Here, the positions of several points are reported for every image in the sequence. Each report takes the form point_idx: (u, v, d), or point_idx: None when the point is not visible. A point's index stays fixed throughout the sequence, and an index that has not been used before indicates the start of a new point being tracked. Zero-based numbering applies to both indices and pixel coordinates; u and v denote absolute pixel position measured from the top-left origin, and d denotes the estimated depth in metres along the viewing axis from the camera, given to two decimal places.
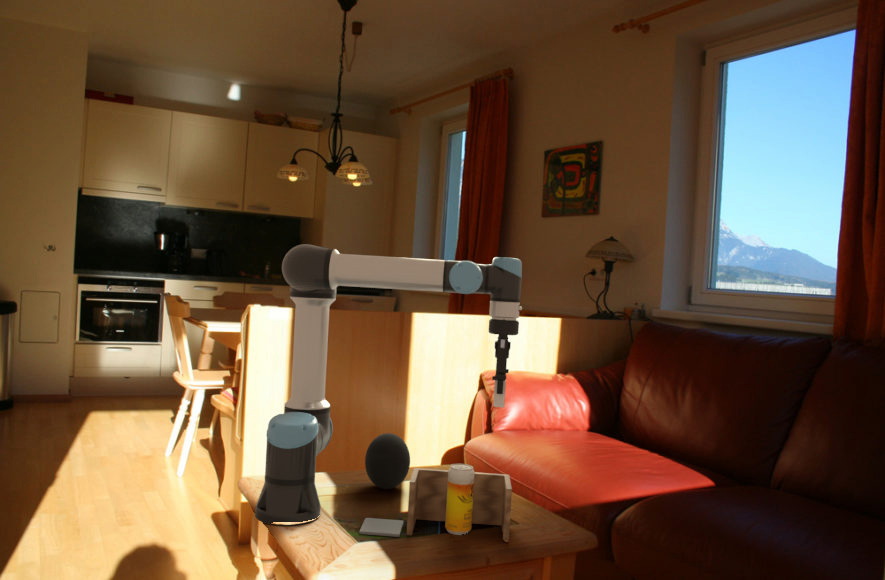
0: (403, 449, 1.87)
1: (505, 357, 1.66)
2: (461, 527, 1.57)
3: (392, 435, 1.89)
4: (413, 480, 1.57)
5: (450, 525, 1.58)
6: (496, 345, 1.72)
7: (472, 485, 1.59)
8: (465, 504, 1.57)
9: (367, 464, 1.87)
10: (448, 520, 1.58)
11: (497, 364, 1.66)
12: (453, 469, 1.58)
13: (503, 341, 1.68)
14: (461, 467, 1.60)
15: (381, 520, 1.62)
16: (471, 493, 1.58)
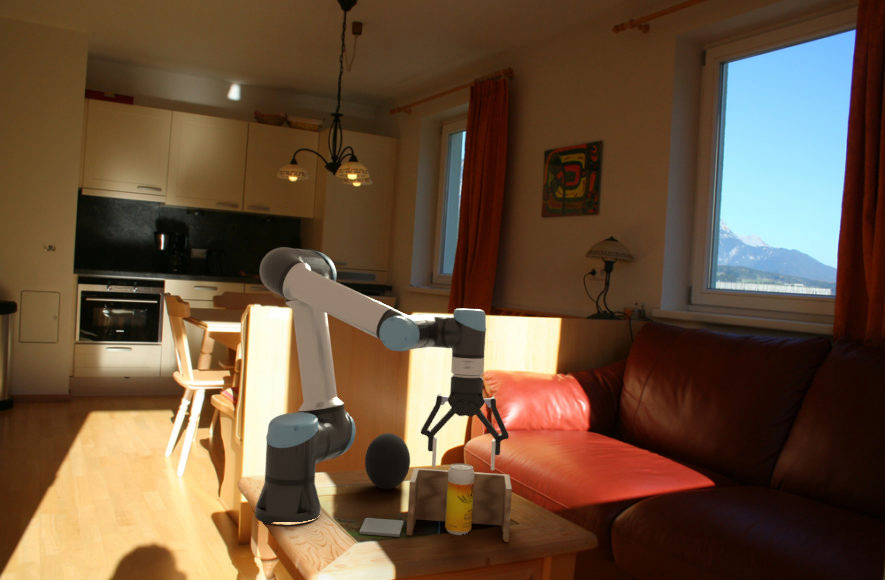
0: (403, 449, 1.87)
1: (430, 413, 1.59)
2: (461, 527, 1.57)
3: (392, 435, 1.89)
4: (413, 480, 1.57)
5: (450, 525, 1.58)
6: None
7: (472, 485, 1.59)
8: (465, 504, 1.57)
9: (367, 464, 1.87)
10: (448, 520, 1.58)
11: None
12: (453, 469, 1.58)
13: None
14: (461, 467, 1.60)
15: (381, 520, 1.62)
16: (471, 493, 1.58)
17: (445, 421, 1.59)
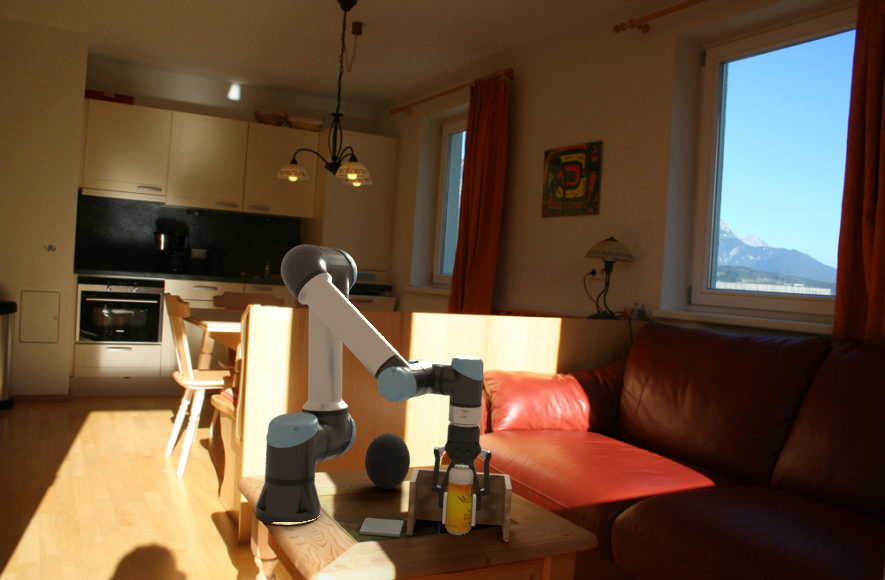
0: (403, 449, 1.87)
1: (434, 468, 1.59)
2: (461, 527, 1.57)
3: (392, 435, 1.89)
4: (413, 480, 1.57)
5: (450, 525, 1.58)
6: None
7: (472, 485, 1.59)
8: (465, 503, 1.57)
9: (367, 464, 1.87)
10: (448, 520, 1.58)
11: None
12: (453, 469, 1.58)
13: None
14: (461, 467, 1.60)
15: (381, 520, 1.62)
16: (471, 493, 1.58)
17: None
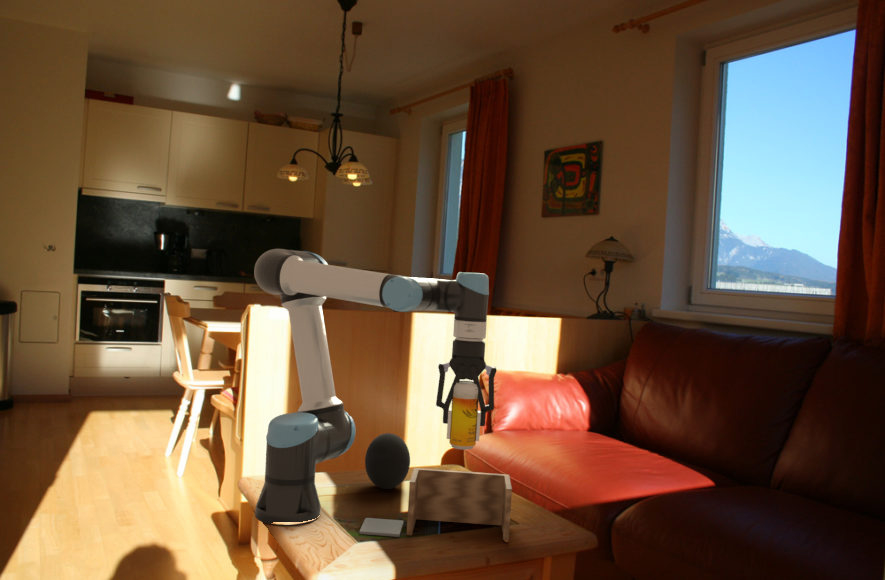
0: (403, 449, 1.87)
1: None
2: (465, 442, 1.57)
3: (392, 435, 1.89)
4: (413, 480, 1.57)
5: (454, 439, 1.58)
6: None
7: (477, 400, 1.58)
8: (470, 418, 1.57)
9: (367, 464, 1.87)
10: (452, 435, 1.58)
11: None
12: (458, 384, 1.58)
13: None
14: (466, 383, 1.60)
15: (381, 520, 1.62)
16: (476, 408, 1.58)
17: None
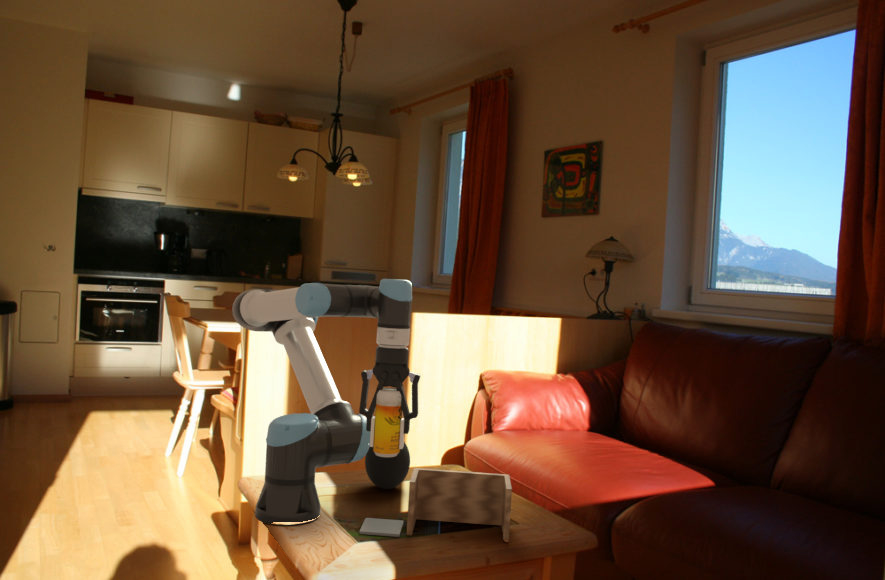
0: (403, 449, 1.87)
1: None
2: (388, 450, 1.56)
3: None
4: (413, 480, 1.57)
5: (377, 447, 1.56)
6: None
7: (400, 407, 1.57)
8: (392, 425, 1.56)
9: (367, 464, 1.87)
10: (375, 442, 1.57)
11: None
12: (380, 391, 1.57)
13: None
14: (389, 390, 1.58)
15: (381, 520, 1.62)
16: (399, 415, 1.57)
17: None
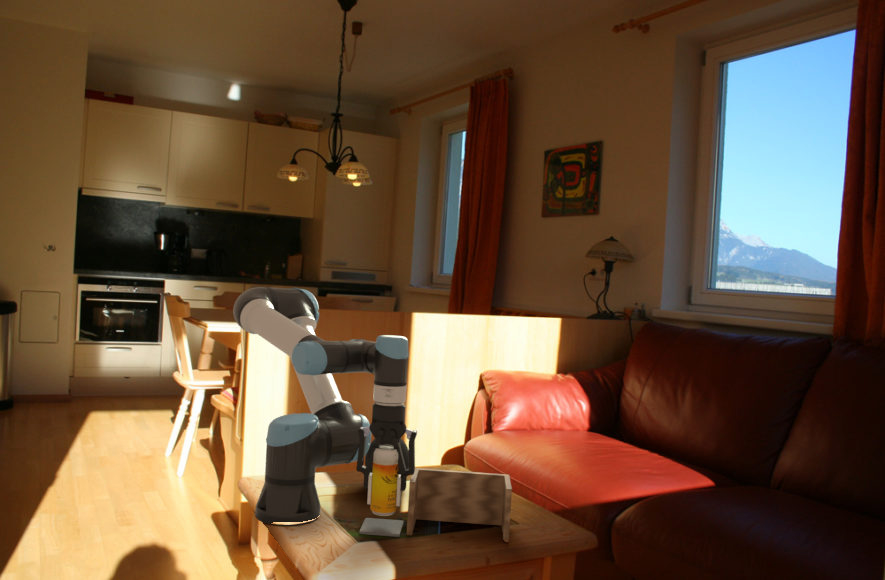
0: (403, 449, 1.87)
1: None
2: (385, 508, 1.56)
3: None
4: (413, 480, 1.57)
5: (374, 506, 1.56)
6: None
7: (397, 466, 1.57)
8: (389, 484, 1.56)
9: None
10: (372, 501, 1.57)
11: None
12: (377, 450, 1.57)
13: None
14: (386, 448, 1.58)
15: (381, 520, 1.62)
16: (396, 474, 1.57)
17: None
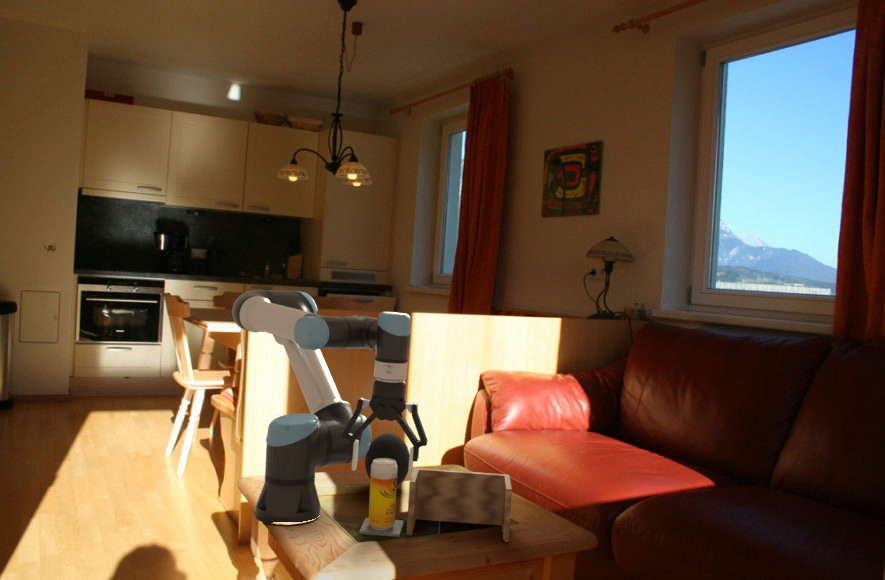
0: (403, 449, 1.87)
1: (352, 416, 1.58)
2: (383, 523, 1.55)
3: (392, 435, 1.89)
4: (413, 480, 1.57)
5: (372, 520, 1.56)
6: None
7: (394, 480, 1.57)
8: (387, 498, 1.56)
9: (367, 464, 1.87)
10: (370, 515, 1.57)
11: None
12: (375, 464, 1.56)
13: None
14: (384, 462, 1.58)
15: None
16: (393, 488, 1.57)
17: (366, 425, 1.58)
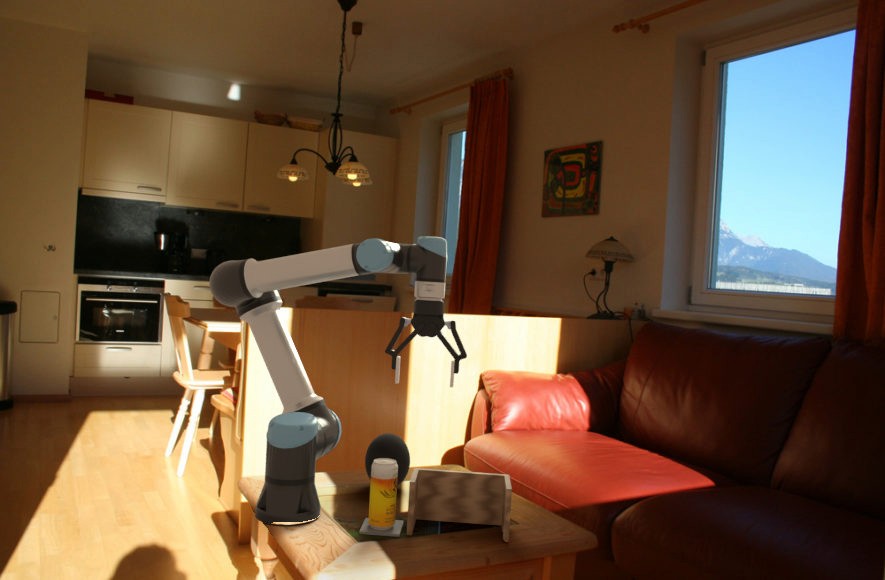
0: (403, 449, 1.87)
1: None
2: (383, 522, 1.56)
3: (392, 435, 1.89)
4: (413, 480, 1.57)
5: (372, 520, 1.56)
6: None
7: (395, 480, 1.57)
8: (388, 498, 1.56)
9: (367, 464, 1.87)
10: (371, 515, 1.57)
11: None
12: (375, 463, 1.57)
13: None
14: (384, 461, 1.58)
15: None
16: (394, 488, 1.57)
17: (408, 341, 1.70)
